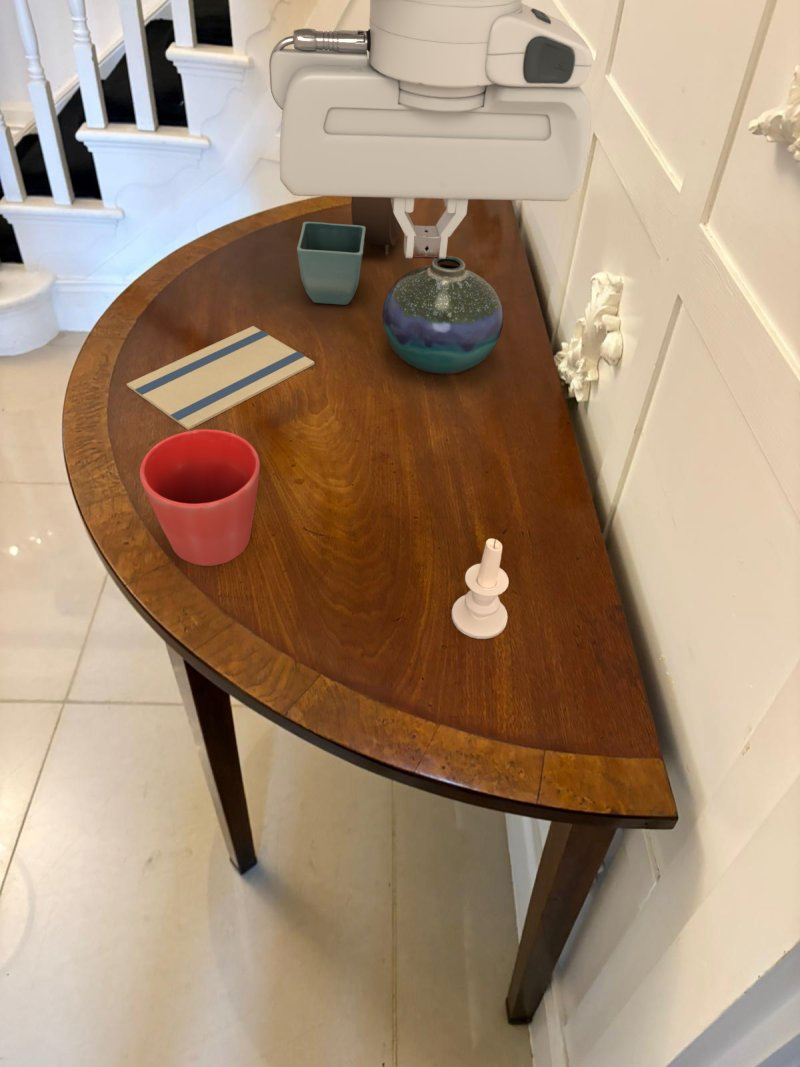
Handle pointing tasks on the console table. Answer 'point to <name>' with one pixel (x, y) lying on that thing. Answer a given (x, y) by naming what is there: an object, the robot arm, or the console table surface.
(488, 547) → the candle
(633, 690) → the console table surface
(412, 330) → the vase
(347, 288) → the flower pot
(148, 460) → the flower pot
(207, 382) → the cloth
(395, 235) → the brown flask
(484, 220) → the console table surface
